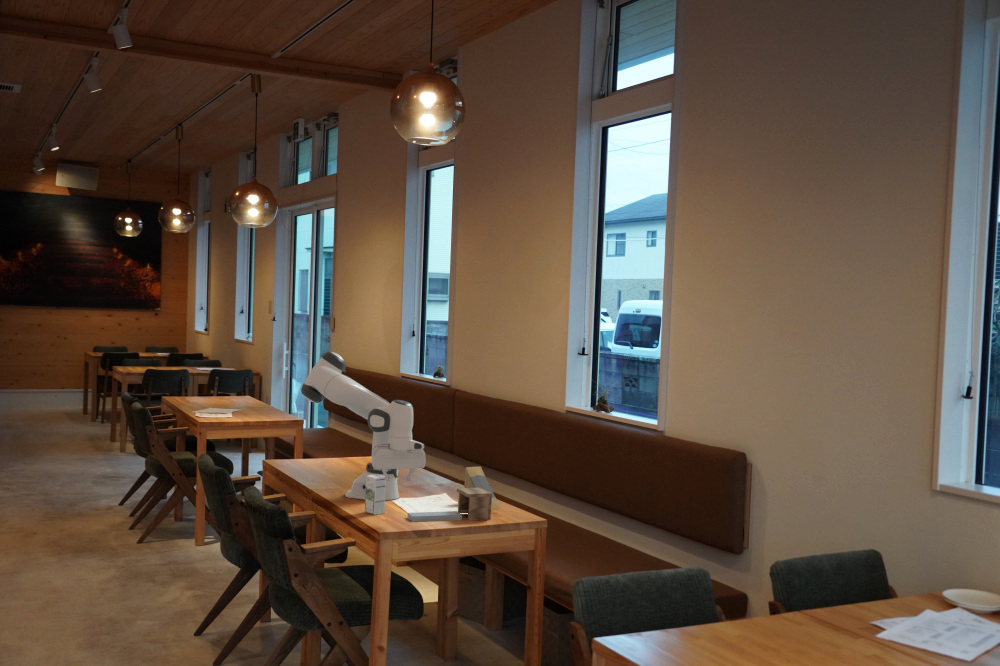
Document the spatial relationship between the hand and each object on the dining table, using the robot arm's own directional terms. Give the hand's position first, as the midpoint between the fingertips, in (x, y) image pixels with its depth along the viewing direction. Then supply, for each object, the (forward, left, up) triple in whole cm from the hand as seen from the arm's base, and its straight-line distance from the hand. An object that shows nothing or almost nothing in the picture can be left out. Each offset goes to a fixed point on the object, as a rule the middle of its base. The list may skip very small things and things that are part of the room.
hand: (398, 480), depth 326 cm
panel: (+14, +8, -16) cm, 22 cm away
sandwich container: (+29, +39, -16) cm, 51 cm away
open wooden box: (+28, +16, -15) cm, 35 cm away
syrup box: (-10, +10, -15) cm, 21 cm away
